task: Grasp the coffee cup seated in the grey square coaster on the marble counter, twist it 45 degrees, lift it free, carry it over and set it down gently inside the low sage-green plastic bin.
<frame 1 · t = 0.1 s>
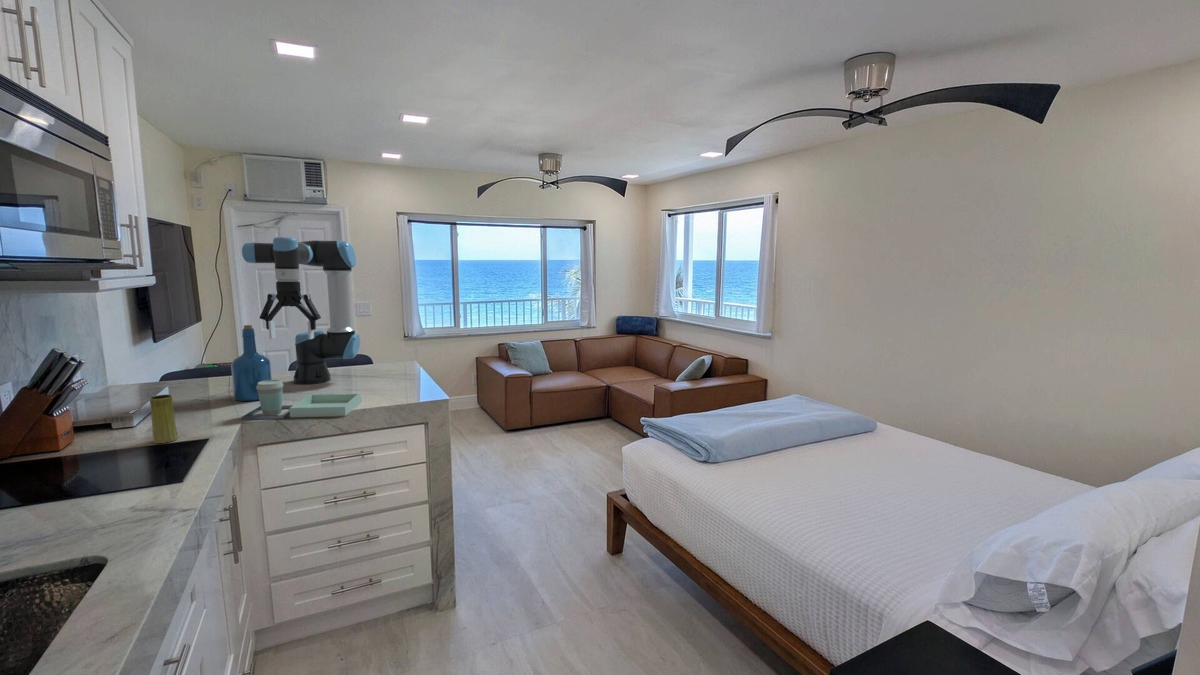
hand: (292, 338, 189), 28 cm above the counter, fingers open, 13 cm apart
bin: (327, 409, 197), on the counter
wine bottle: (254, 398, 211), on the counter
coffee cup: (272, 413, 191), resting in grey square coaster
vase: (165, 441, 162), on the counter
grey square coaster: (272, 413, 191), on the counter
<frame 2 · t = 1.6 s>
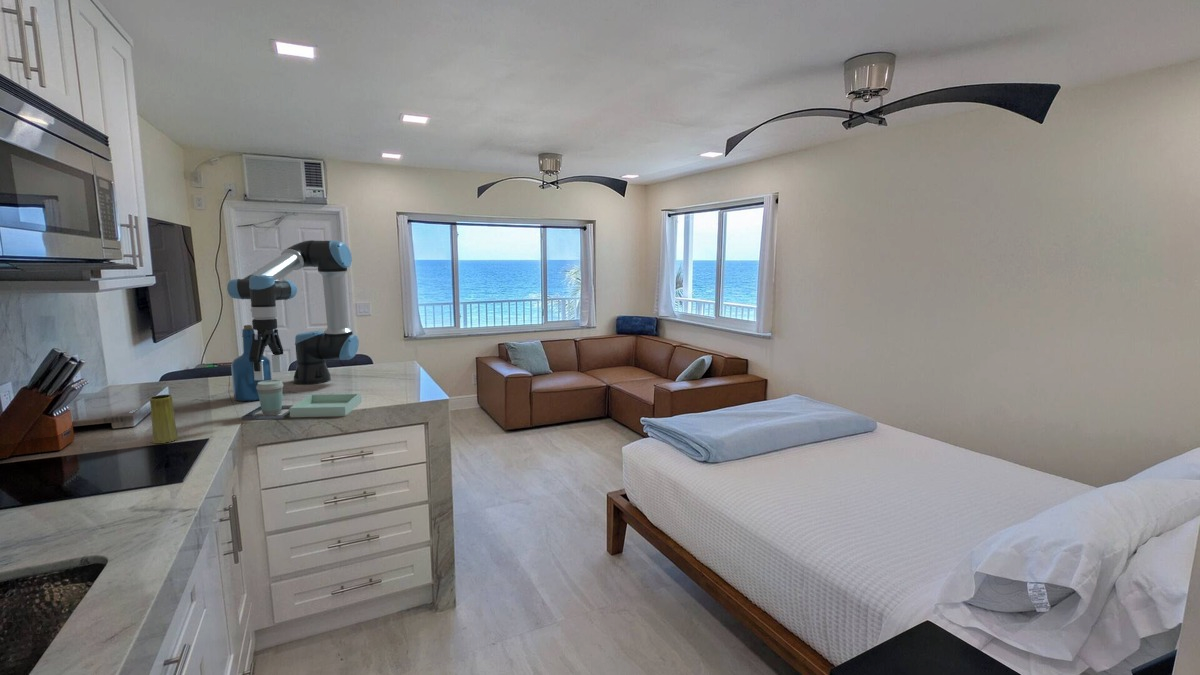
hand: (268, 375, 188), 14 cm above the counter, fingers open, 13 cm apart
nothing on the counter moved.
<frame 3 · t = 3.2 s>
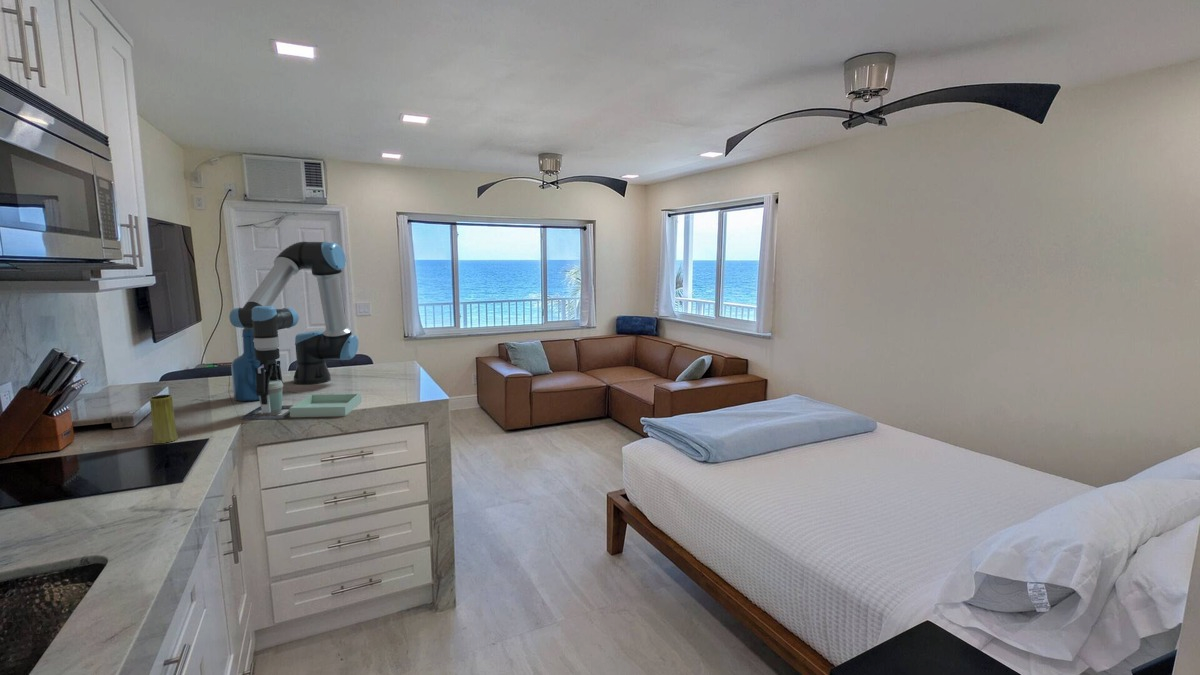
hand: (271, 409, 190), 2 cm above the counter, fingers closed on coffee cup, 8 cm apart
coffee cup: (272, 413, 191), resting in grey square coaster, touching gripper
everything else where it was.
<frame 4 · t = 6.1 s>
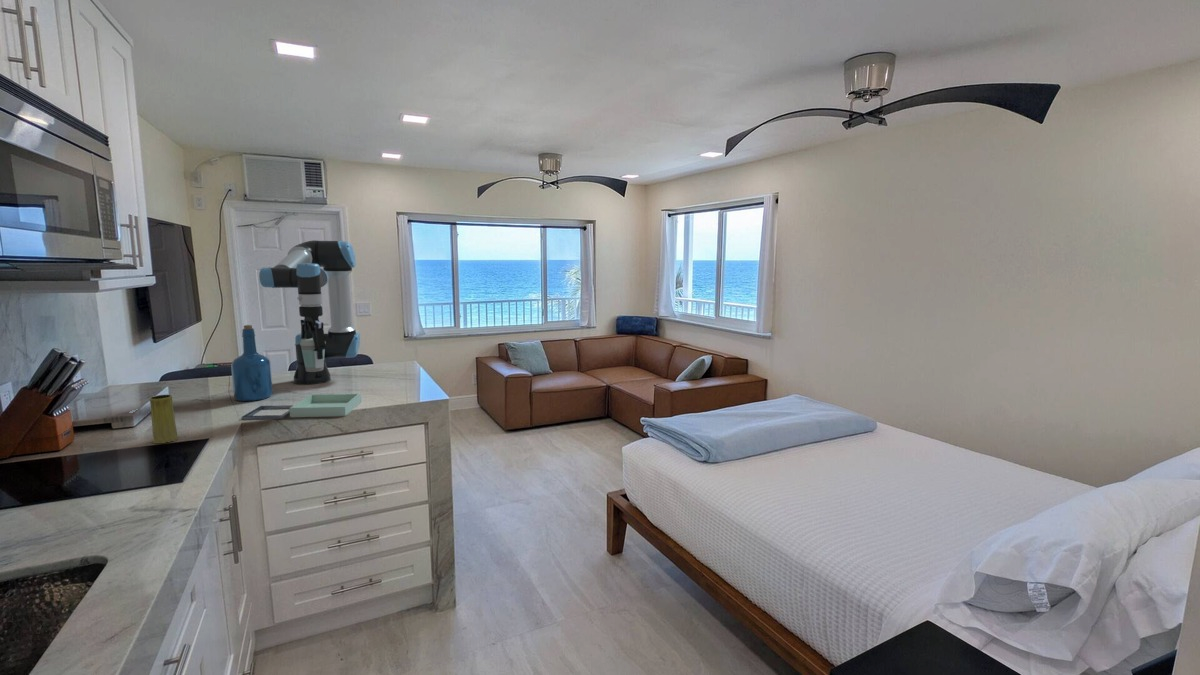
hand: (314, 365, 193), 17 cm above the counter, fingers closed on coffee cup, 8 cm apart
coffee cup: (314, 370, 194), point 15 cm above the counter, touching gripper
everything else where it was.
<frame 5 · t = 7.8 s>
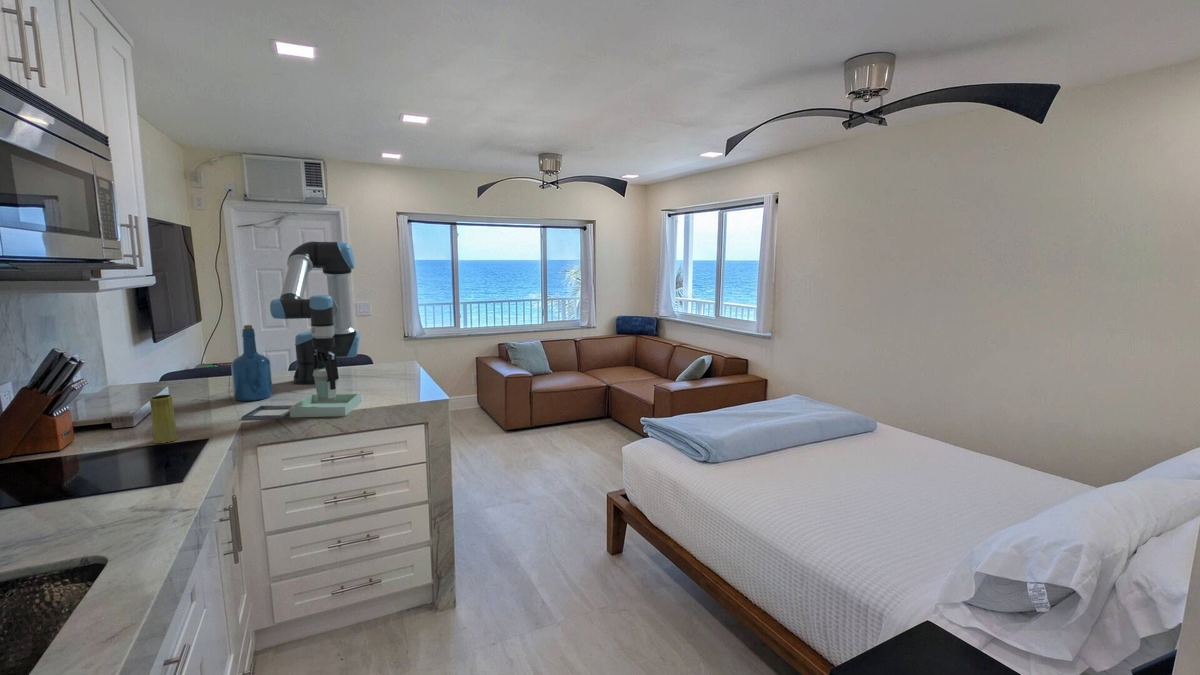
hand: (326, 395, 196), 5 cm above the counter, fingers closed on coffee cup, 8 cm apart
coffee cup: (327, 400, 197), point 4 cm above the counter, touching gripper
everything else where it was.
when the fingers open (3 cm above the counter, at t = 8.8 s): coffee cup moves 3 cm, point 2 cm above the counter.
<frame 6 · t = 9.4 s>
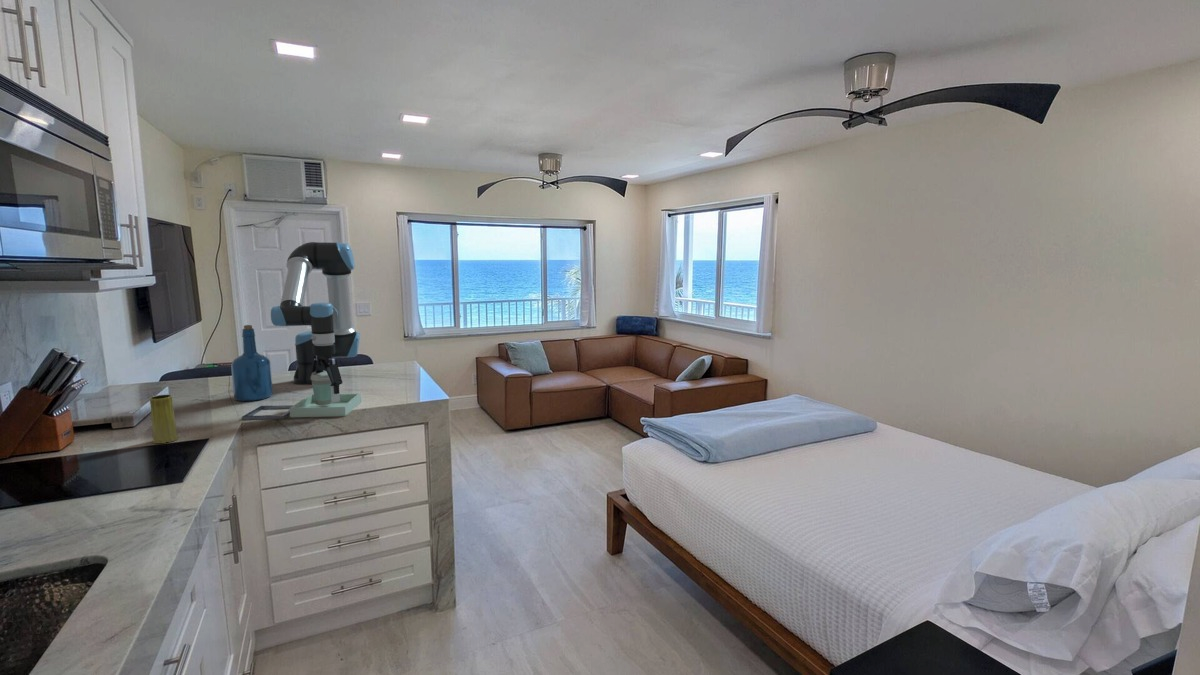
hand: (327, 398, 197), 4 cm above the counter, fingers open, 13 cm apart
coffee cup: (323, 403, 199), point 2 cm above the counter, touching gripper
everything else where it was.
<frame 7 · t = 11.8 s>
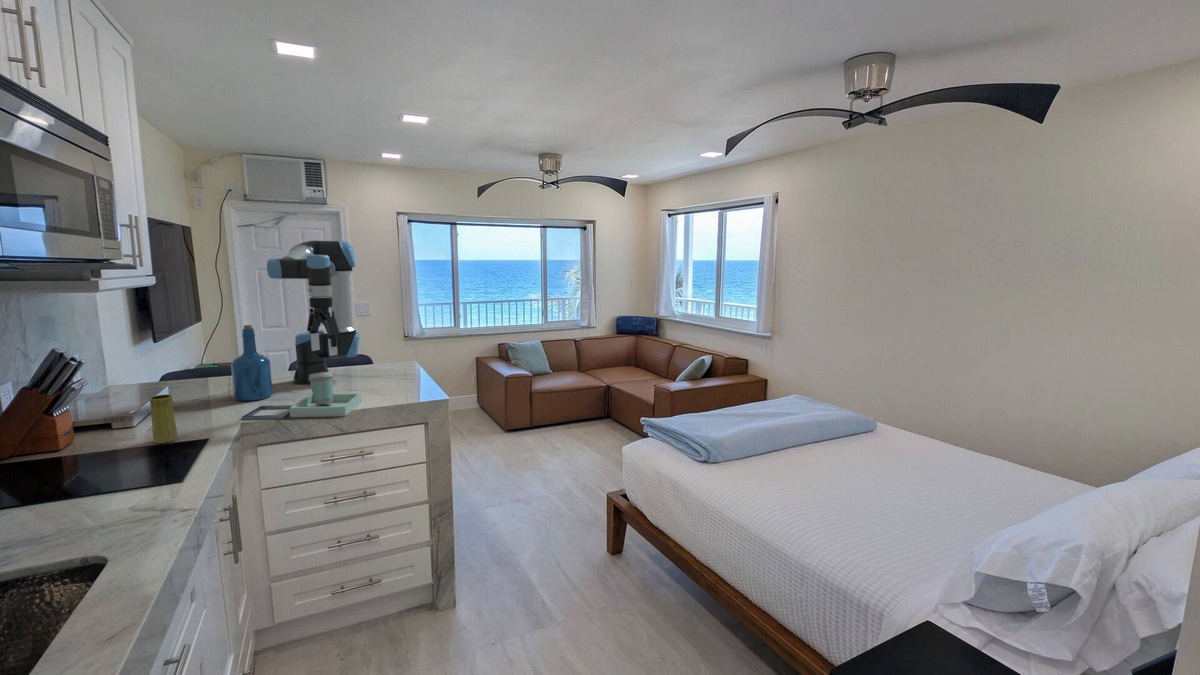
hand: (324, 352, 194), 22 cm above the counter, fingers open, 13 cm apart
coffee cup: (324, 404, 199), point 1 cm above the counter, touching bin
everything else where it was.
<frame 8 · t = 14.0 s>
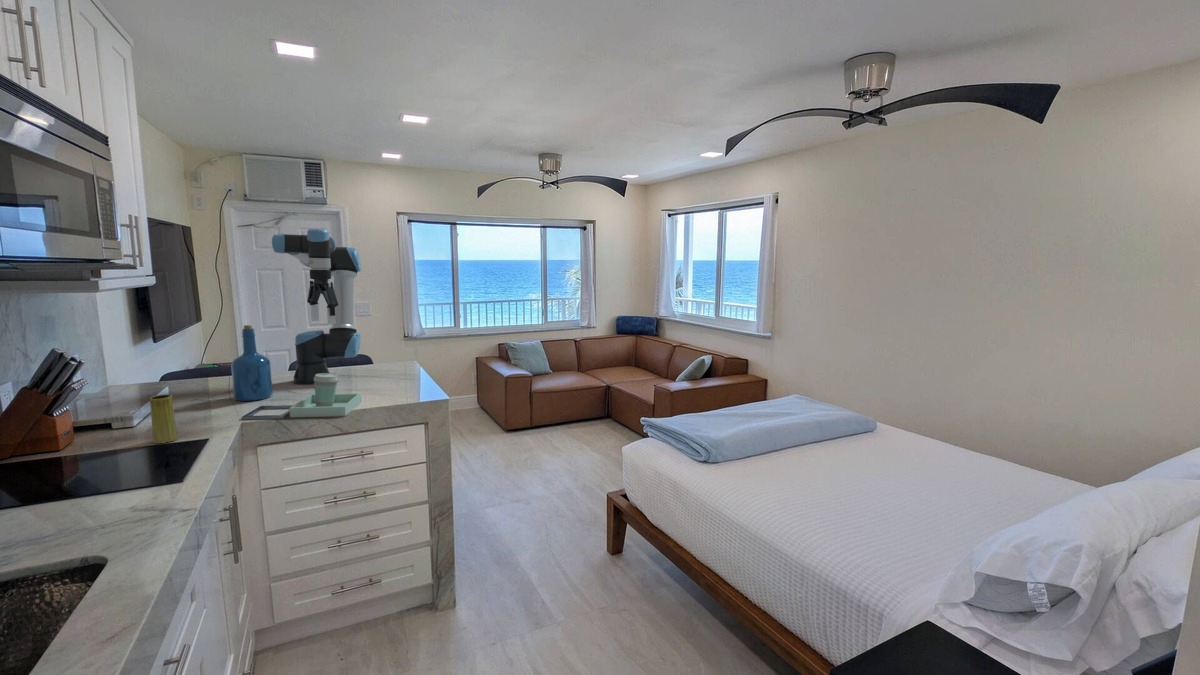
hand: (323, 322, 206), 32 cm above the counter, fingers open, 13 cm apart
at the end: coffee cup inside the target area on the bin (3.3 cm from its centre), point 0.5 cm above the bin's base; coffee cup tilted 3°; coffee cup touching bin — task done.
